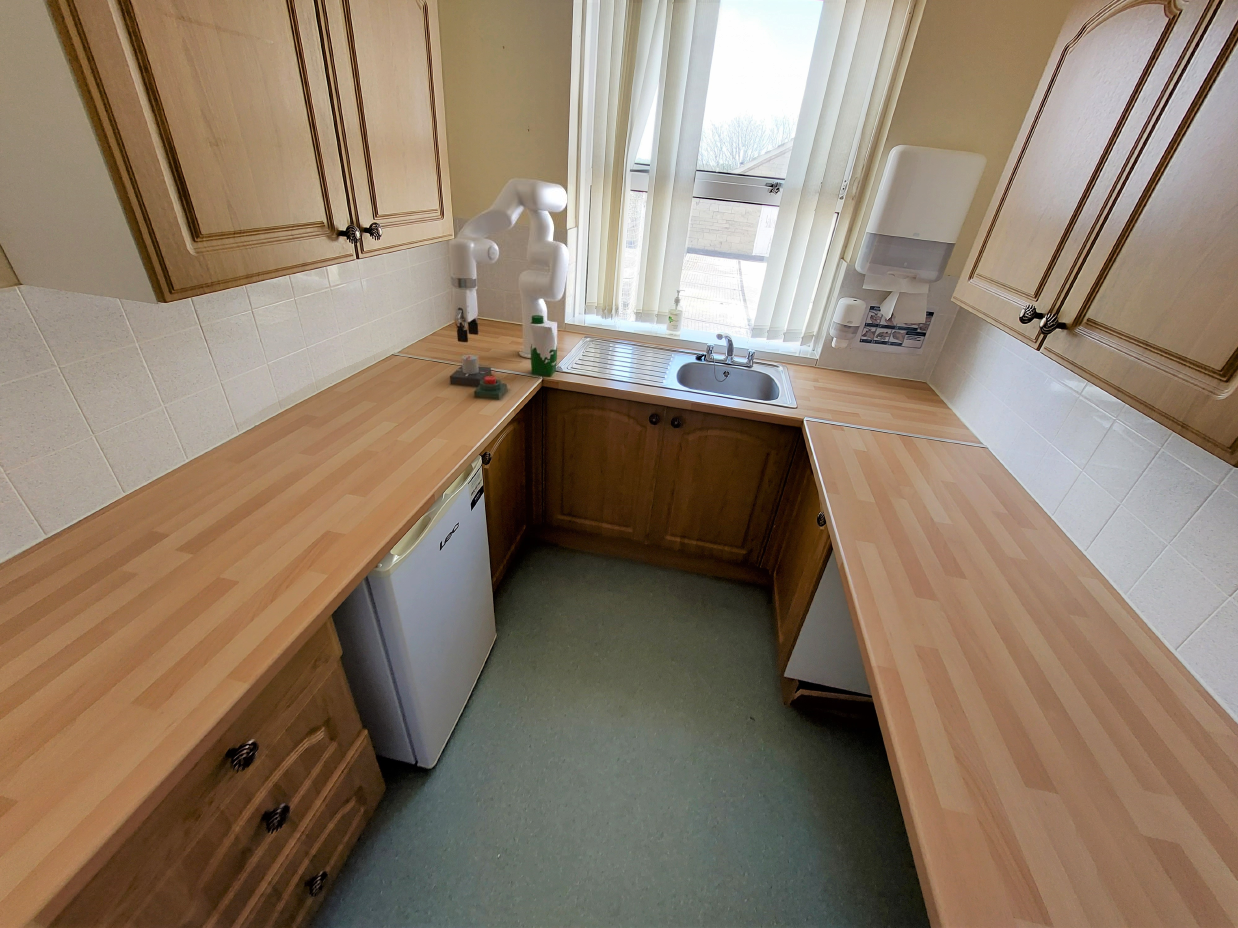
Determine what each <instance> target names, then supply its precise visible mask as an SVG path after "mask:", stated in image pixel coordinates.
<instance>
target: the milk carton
mask: <svg viewBox="0 0 1238 928" xmlns="http://www.w3.org/2000/svg"><path fill="white" fill-rule="evenodd" d="M529 327H530V344H531V358H530V366H531V367H530V370H531V371H530V372H531V373H530V374H531V375H532V376H533V375H534V376H540V377H550V378H551V377H552V376H553V375H554V373H555V372H556V371H557V364H558V322H557V321H551V320H547V321H544V319H543V316H540V315H533V316H532V322H531V323H530V325H529Z"/></svg>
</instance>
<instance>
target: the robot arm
mask: <svg viewBox="0 0 1238 928" xmlns="http://www.w3.org/2000/svg"><path fill="white" fill-rule="evenodd" d="M567 202H568V195H567V192H566V190H565V188H564V187H563V186H562V185H561V184H557V183H554V182H548V181H543V180H539V179H533V178H521V177H514V178H511V179H510V180H509V179H508V181H507V182H506V183H505V185H504V186H503V188H502V189H501V190H500V193H499V194H498V195H497V197H496V198H495V200H494V201H493V203H492V204H491V205H490V207H489V208H488V209H485V210H484V211H482V212H480V213H479V214H477V215H476V216H474V217H472V218H471V219H469V220H468V221H467V222H466V223H465V224H464V225H463V226H462V228H461V230H460V231H459V232H458V234H457V235H456V237H455V238H451V239H450V240H449V241H448V254H449V255H448V256H449V265H450V268H449V269H450V279H451V288H452V319H453V321H454V322H455V323H454V324H455V329H456V336H457V342H458V343H468V342H469V335H474V336H476V335H477V336H478V335H479V318H478V315H479V308H478V295H477V289H478V280H477V279H478V278H477V277H478V276H477V265H484V266H485V265H486V266H489V265H493V264H494V263H496V262H497V260H498V259H499V256H500V250H499V247H498V245H497V244H496V242H494V241H493V240H491V239H489V238H487V237H489V236H492V235H496V234H500V233H503V232H507V231H509V230H511V229H512V228H513V227H514V225H515V224H516V222H517V221H518V219H519V218H520V216H521V214H522V213H523V212H524V210H525V211H526V212H527V215H528V218H529V223H530V224H529V234H528V242H527V247H526V261H527V262H528V264H529V265H531V266H533V267H535V268H542V269H547V270H549V272H545V271H541V270H535V269H527V270H524V271H522V272H521V273H520V275H519V277H518V282H517V283H518V284H517V285H518V290H519V294H520V299H521V300H520V301H521V322H522V323H521V324H522V327H521V328H522V348H523V349H522V348H521V349H522V350H520V349H519V350H520V351H523V352H519V351H518V354H519V355H520V356H521V357H523V358H526V359H531V344H530V327H529V325H530V323H531V322H532V316H533V315H540V316H543V319H544V321H548V307H547V304H546V302H545V301H548V302H549V301H550V302H558V301H560V300H561V299H562V298H563V296H564V293H565V289H566V282H567V276H568V272H569V271H568V269H569V265H570V263H569V262H570V253H569V250H568V246H567V245H565V244H564V243H563V242H560V241H556V240H553V239H554V231H555V226H554V225H555V224H554V221H553V218H552V217H551V214H550V213H560V212H563V210H564V209H565V208H566V206H567V204H568V203H567ZM549 212H550V213H549ZM468 334H469V335H468ZM522 354H523V355H522ZM525 355H526V356H525Z"/></svg>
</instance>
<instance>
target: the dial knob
mask: <svg viewBox="0 0 1238 928" xmlns="http://www.w3.org/2000/svg"><path fill="white" fill-rule="evenodd" d="M461 366H462V367H463V372H464V373H466V374H475V373H478V372H479V366H480V365H479V356H478V355H475V354H464V355H462V356H461Z"/></svg>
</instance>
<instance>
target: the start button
mask: <svg viewBox="0 0 1238 928" xmlns="http://www.w3.org/2000/svg"><path fill="white" fill-rule="evenodd" d="M484 379H485V384H496V379H497V376H493V375H491V376H487V377H485V378H484Z"/></svg>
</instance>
